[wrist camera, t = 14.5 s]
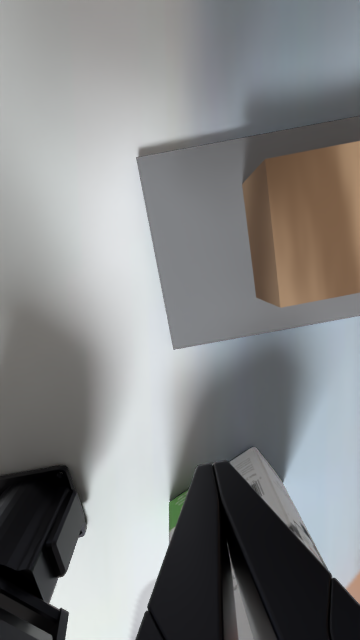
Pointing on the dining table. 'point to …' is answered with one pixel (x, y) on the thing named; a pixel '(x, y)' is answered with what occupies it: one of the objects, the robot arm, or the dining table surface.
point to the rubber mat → (224, 235)
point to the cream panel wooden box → (305, 225)
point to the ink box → (275, 496)
